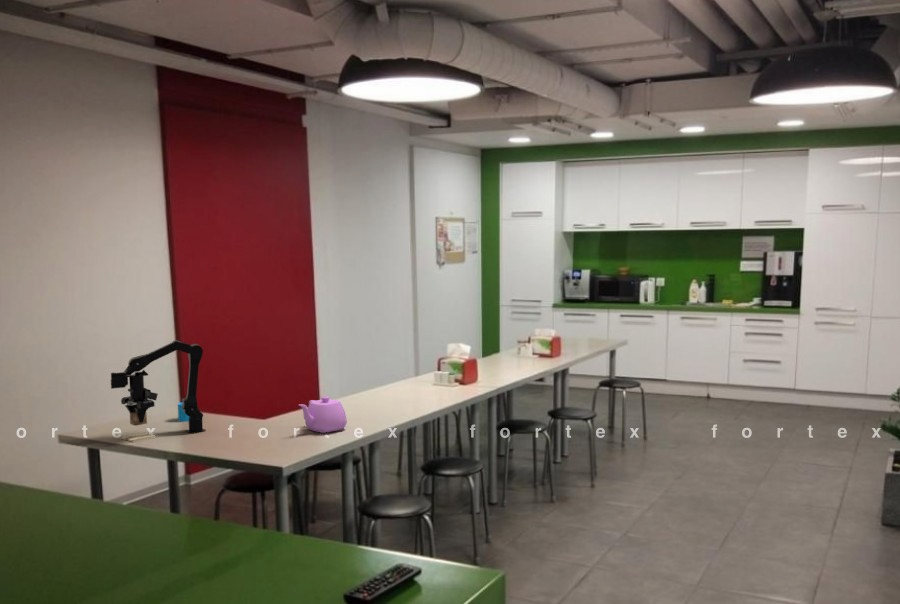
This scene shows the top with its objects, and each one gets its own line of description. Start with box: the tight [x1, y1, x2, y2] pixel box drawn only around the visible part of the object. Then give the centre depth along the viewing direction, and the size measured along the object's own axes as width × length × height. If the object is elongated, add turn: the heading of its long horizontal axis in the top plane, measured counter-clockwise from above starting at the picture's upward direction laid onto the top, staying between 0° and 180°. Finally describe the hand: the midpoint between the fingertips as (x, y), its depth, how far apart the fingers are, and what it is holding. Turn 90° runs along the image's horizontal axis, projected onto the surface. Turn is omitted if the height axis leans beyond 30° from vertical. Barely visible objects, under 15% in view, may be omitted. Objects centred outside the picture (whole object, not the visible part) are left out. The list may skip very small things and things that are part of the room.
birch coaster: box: [121, 432, 156, 443], centre depth 314 cm, size 10×10×1 cm
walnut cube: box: [129, 412, 148, 427], centre depth 313 cm, size 5×5×5 cm
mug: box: [177, 402, 189, 423], centre depth 351 cm, size 12×8×8 cm
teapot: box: [298, 395, 348, 434], centre depth 323 cm, size 23×21×15 cm
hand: (138, 421), depth 314 cm, fingers closed on walnut cube, 5 cm apart
